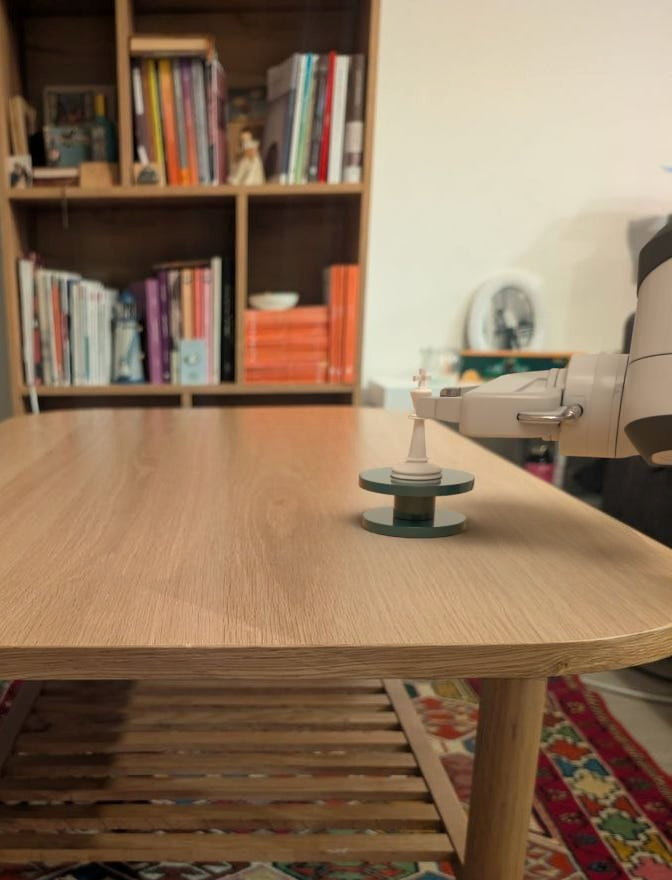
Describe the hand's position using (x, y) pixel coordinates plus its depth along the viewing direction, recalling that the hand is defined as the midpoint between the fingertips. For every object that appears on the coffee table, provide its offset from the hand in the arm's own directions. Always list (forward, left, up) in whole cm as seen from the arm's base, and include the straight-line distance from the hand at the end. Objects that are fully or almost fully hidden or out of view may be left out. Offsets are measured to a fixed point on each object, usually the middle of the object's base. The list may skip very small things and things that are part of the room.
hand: (430, 401), depth 89 cm
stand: (+1, 0, -12) cm, 12 cm away
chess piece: (+1, 0, -7) cm, 7 cm away
